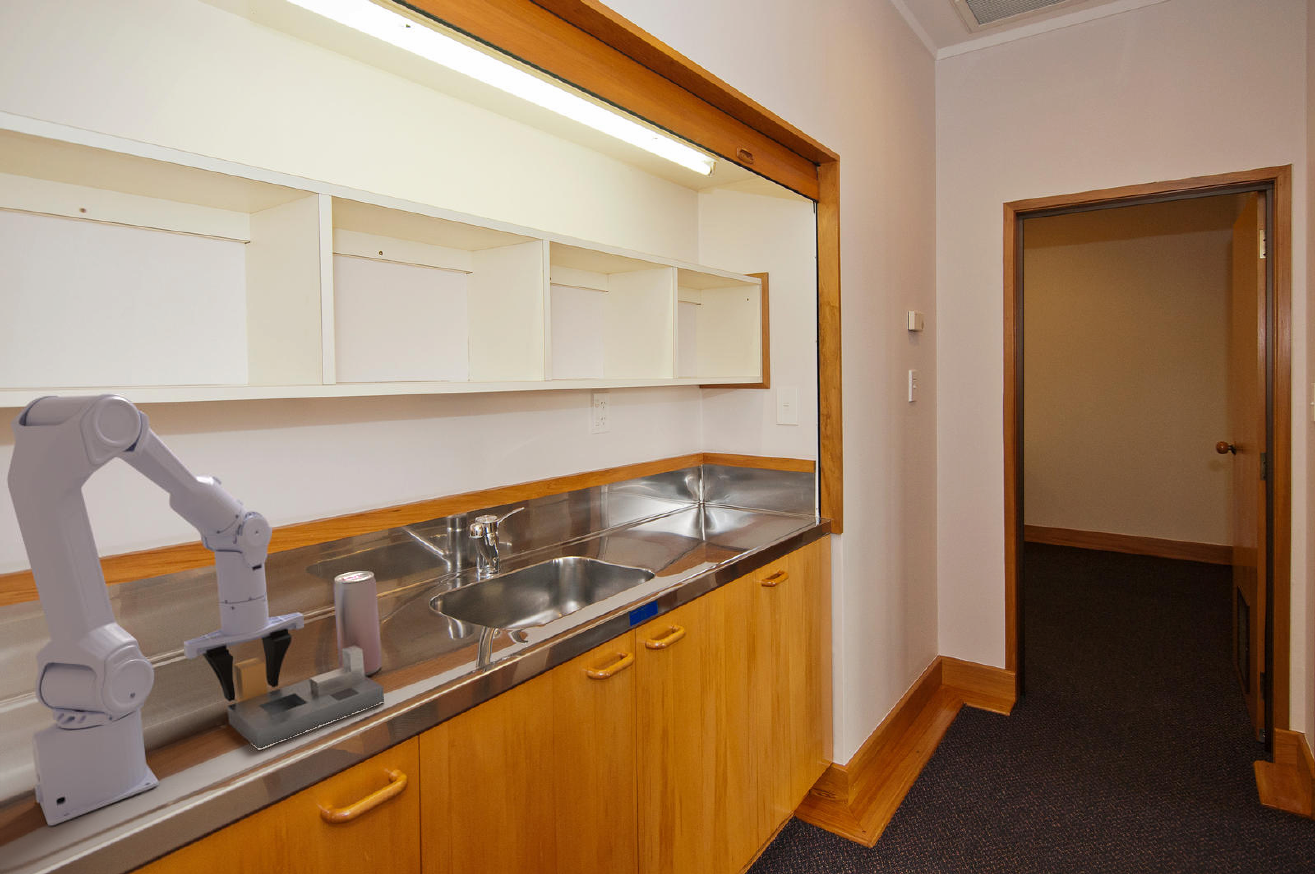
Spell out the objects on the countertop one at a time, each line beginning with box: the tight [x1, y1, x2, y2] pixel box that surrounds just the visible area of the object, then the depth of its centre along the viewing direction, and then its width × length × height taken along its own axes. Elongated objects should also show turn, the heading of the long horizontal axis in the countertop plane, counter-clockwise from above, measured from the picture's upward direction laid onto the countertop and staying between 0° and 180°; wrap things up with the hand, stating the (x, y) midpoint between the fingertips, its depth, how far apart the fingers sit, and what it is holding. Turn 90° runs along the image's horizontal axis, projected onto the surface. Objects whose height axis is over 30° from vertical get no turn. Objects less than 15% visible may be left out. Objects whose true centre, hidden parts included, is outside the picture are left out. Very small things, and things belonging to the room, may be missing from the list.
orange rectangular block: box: [233, 657, 268, 703], centre depth 98 cm, size 3×3×6 cm
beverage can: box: [332, 570, 383, 677], centre depth 108 cm, size 6×6×15 cm
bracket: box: [309, 646, 365, 696], centre depth 98 cm, size 6×2×4 cm, turn 137°
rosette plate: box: [227, 676, 385, 748], centre depth 95 cm, size 16×11×2 cm
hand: (251, 691), depth 98 cm, fingers open, 5 cm apart
